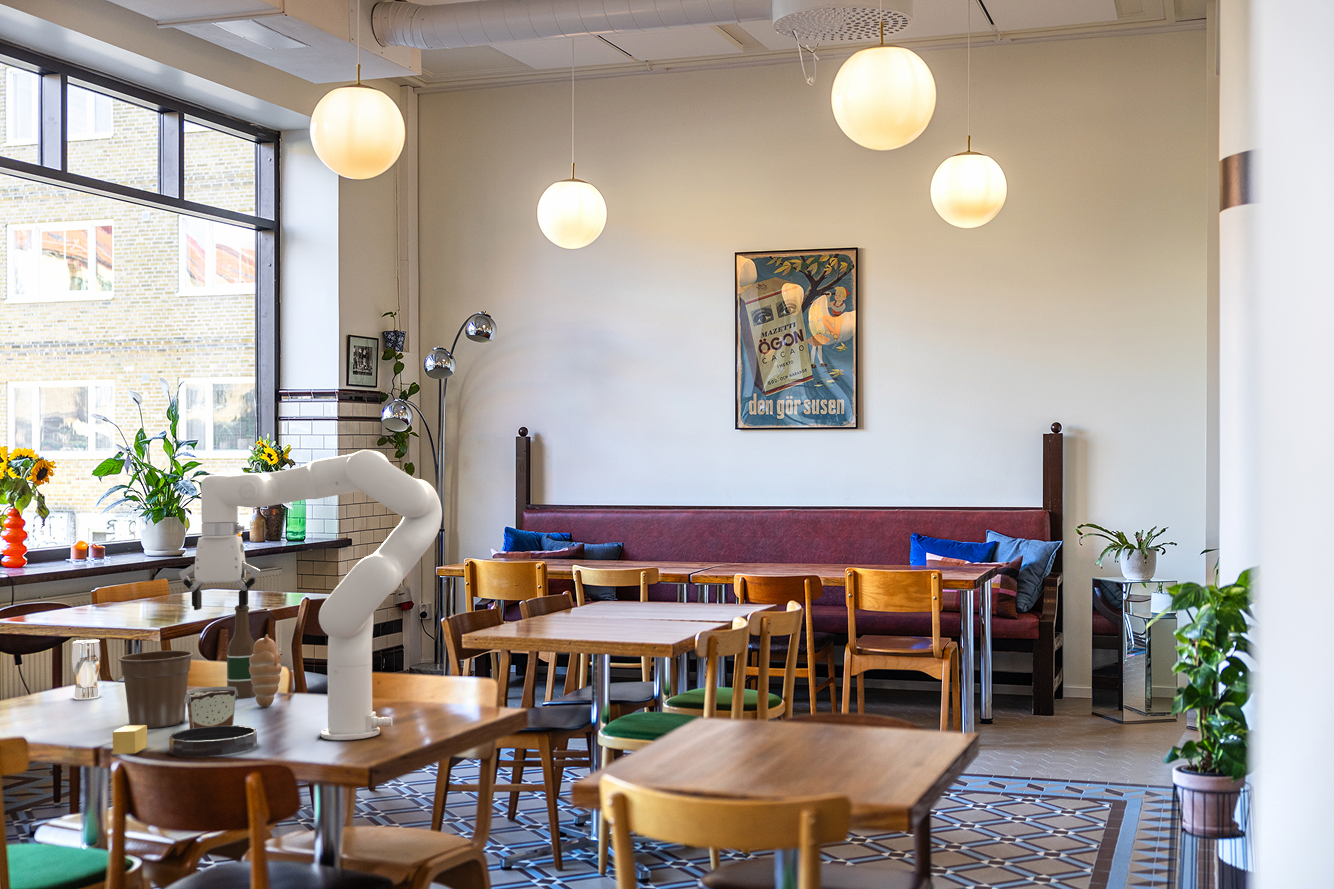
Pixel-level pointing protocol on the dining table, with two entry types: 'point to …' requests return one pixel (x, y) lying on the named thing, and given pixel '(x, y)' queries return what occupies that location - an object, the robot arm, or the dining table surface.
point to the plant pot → (156, 687)
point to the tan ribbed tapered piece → (265, 670)
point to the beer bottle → (240, 655)
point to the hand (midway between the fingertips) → (220, 609)
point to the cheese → (129, 739)
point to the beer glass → (86, 668)
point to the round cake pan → (212, 740)
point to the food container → (211, 706)
